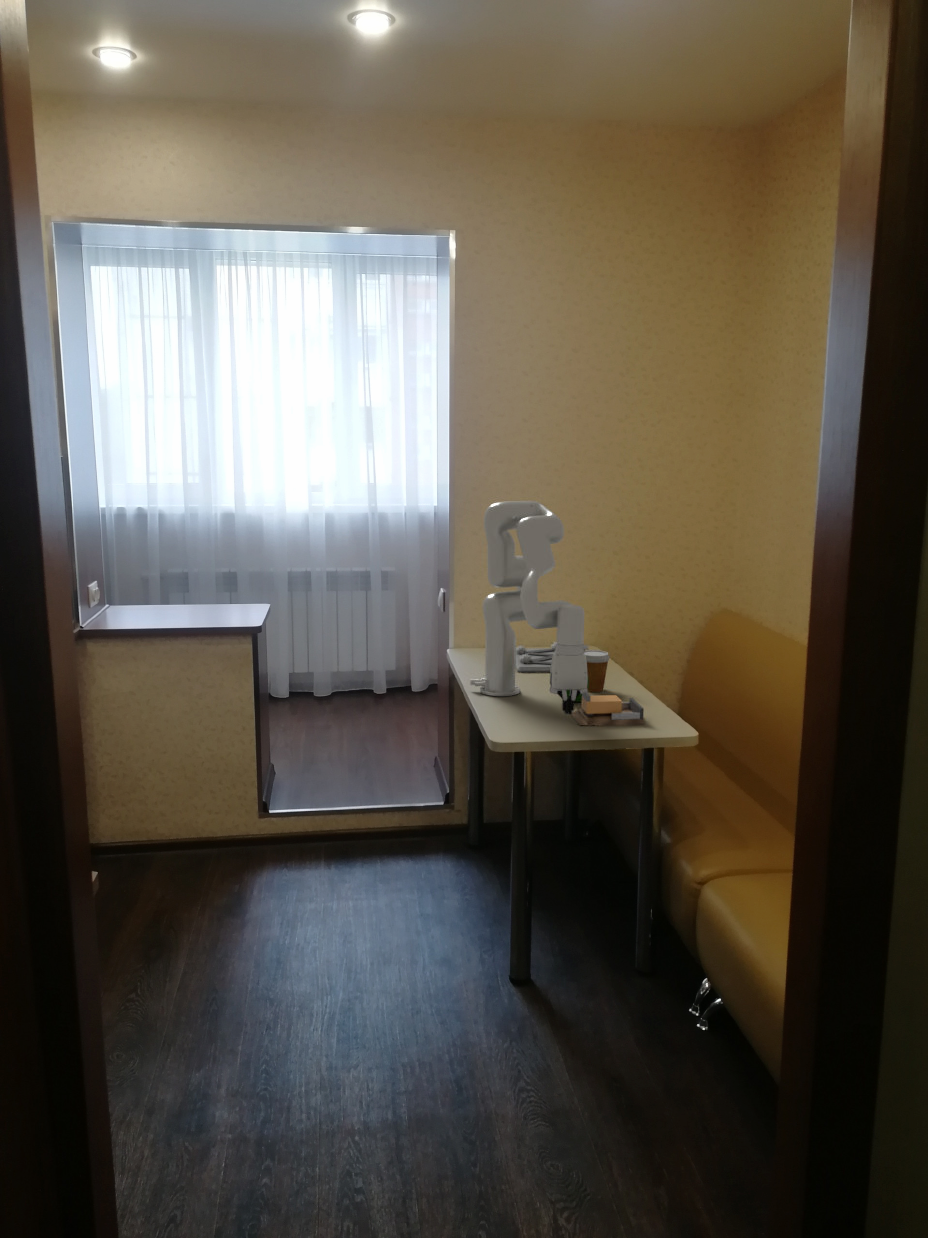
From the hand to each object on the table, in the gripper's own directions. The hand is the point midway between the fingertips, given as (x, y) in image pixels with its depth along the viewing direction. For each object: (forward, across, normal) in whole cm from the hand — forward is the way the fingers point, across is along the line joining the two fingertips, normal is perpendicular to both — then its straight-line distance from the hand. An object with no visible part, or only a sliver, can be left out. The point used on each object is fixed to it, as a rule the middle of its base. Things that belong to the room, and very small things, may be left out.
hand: (567, 712), depth 264 cm
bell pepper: (+2, -6, -20) cm, 21 cm away
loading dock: (+2, -11, 0) cm, 11 cm away
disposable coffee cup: (+2, -15, -32) cm, 36 cm away
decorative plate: (+3, -6, -70) cm, 70 cm away
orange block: (+1, -10, 0) cm, 10 cm away
